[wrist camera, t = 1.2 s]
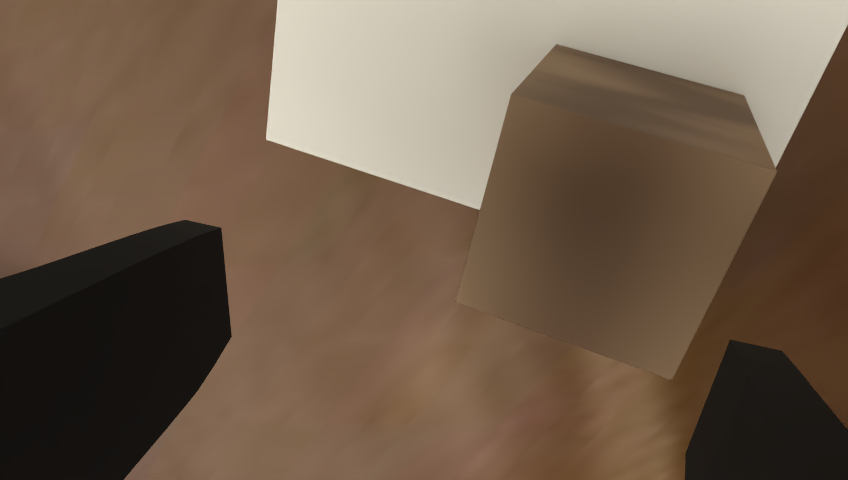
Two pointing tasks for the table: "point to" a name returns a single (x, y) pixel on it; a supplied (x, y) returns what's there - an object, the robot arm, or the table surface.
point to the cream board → (515, 71)
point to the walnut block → (615, 207)
